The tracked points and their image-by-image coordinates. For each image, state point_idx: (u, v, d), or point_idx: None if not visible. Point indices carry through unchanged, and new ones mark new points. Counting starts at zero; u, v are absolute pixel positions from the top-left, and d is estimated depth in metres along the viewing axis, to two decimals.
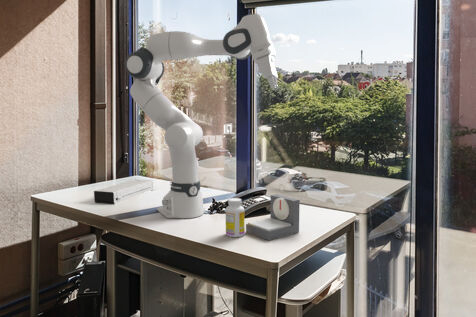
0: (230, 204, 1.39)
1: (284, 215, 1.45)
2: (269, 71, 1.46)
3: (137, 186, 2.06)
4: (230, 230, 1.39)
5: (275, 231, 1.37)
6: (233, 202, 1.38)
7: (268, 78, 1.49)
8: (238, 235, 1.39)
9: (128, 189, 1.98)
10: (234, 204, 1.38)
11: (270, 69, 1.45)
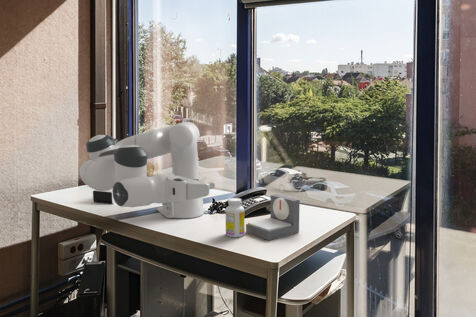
0: (230, 204, 1.39)
1: (284, 215, 1.45)
2: (207, 187, 1.20)
3: None
4: (230, 230, 1.39)
5: (275, 231, 1.37)
6: (233, 202, 1.38)
7: None
8: (238, 235, 1.39)
9: None
10: (234, 204, 1.38)
11: (205, 185, 1.20)
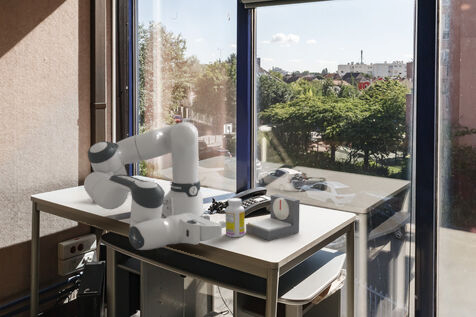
0: (230, 204, 1.39)
1: (284, 215, 1.45)
2: (219, 228, 1.24)
3: None
4: (230, 230, 1.39)
5: (275, 231, 1.37)
6: (233, 202, 1.38)
7: None
8: (238, 235, 1.39)
9: None
10: (234, 204, 1.38)
11: (218, 226, 1.24)
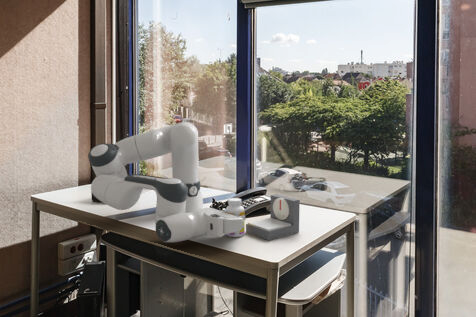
0: (230, 204, 1.39)
1: (284, 215, 1.45)
2: (241, 221, 1.30)
3: None
4: None
5: (275, 231, 1.37)
6: (233, 202, 1.38)
7: None
8: (238, 235, 1.39)
9: None
10: (234, 204, 1.38)
11: (240, 220, 1.29)
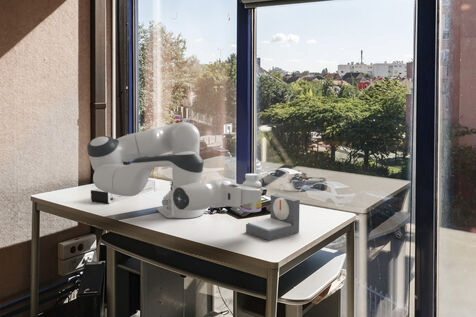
0: (247, 178, 1.38)
1: (284, 215, 1.45)
2: (259, 192, 1.28)
3: None
4: (247, 205, 1.37)
5: (275, 231, 1.37)
6: (250, 176, 1.37)
7: None
8: (255, 210, 1.37)
9: None
10: (251, 178, 1.37)
11: (258, 191, 1.28)
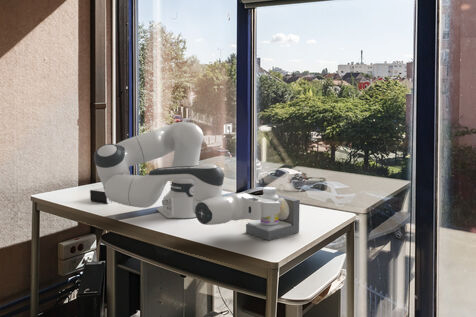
0: (265, 192, 1.40)
1: (284, 215, 1.45)
2: (279, 205, 1.31)
3: None
4: (265, 218, 1.40)
5: (275, 231, 1.37)
6: (268, 190, 1.40)
7: None
8: (273, 223, 1.40)
9: None
10: (269, 192, 1.40)
11: (277, 203, 1.31)
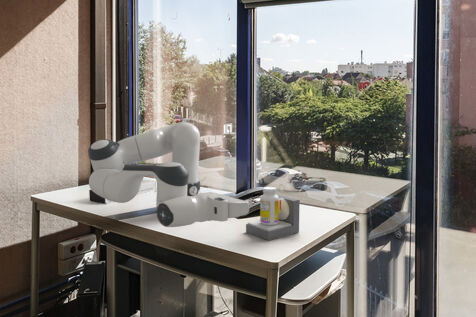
0: (265, 192, 1.40)
1: (284, 215, 1.45)
2: (247, 205, 1.23)
3: None
4: (265, 218, 1.40)
5: (275, 231, 1.37)
6: (268, 190, 1.40)
7: None
8: (273, 223, 1.40)
9: None
10: (269, 192, 1.40)
11: (245, 203, 1.23)
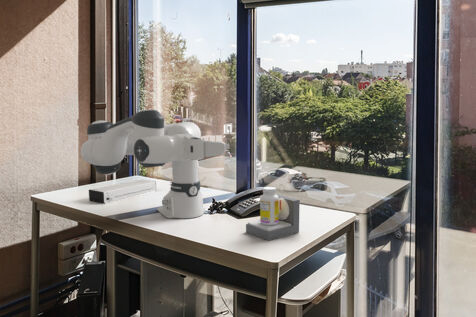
0: (265, 192, 1.40)
1: (284, 215, 1.45)
2: (223, 145, 1.26)
3: (135, 187, 2.04)
4: (265, 219, 1.40)
5: (275, 231, 1.37)
6: (268, 190, 1.40)
7: None
8: (273, 223, 1.40)
9: (123, 189, 1.98)
10: (269, 192, 1.40)
11: (221, 143, 1.26)
